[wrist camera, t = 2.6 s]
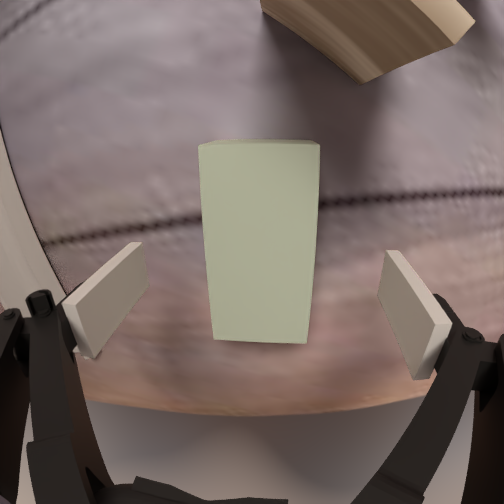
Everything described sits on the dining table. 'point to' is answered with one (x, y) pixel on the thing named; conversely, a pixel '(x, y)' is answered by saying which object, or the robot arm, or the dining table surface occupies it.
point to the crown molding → (20, 249)
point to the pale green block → (260, 236)
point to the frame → (373, 30)
